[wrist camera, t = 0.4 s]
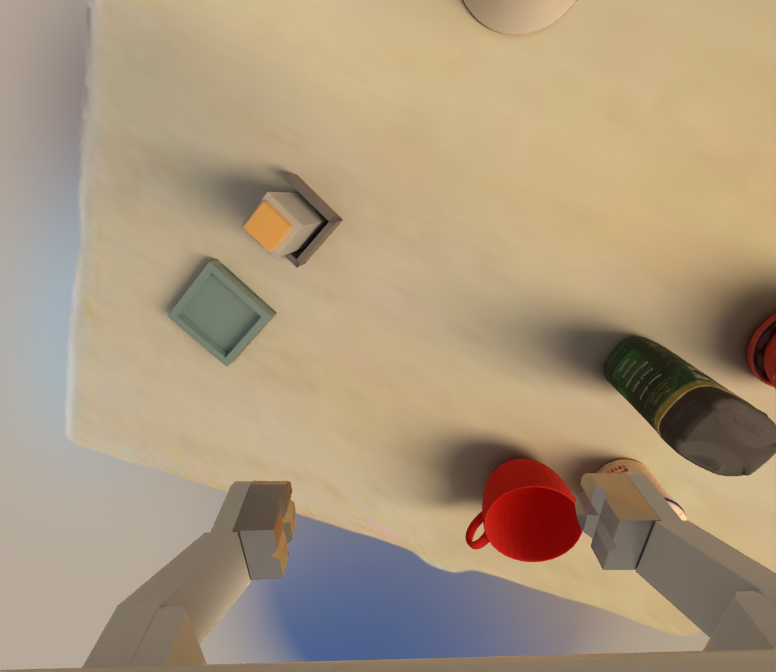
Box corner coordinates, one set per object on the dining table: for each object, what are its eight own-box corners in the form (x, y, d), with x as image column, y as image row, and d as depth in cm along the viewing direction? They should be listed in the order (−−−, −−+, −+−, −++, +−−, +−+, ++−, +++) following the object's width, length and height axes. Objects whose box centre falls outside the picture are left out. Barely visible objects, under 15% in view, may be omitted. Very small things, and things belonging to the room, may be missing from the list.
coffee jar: (591, 373, 56) (662, 453, 39) (628, 326, 53) (723, 390, 36) (649, 405, 57) (744, 497, 39) (689, 360, 54) (811, 438, 37)
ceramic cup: (439, 479, 65) (440, 527, 55) (530, 426, 60) (548, 469, 50) (486, 532, 67) (495, 586, 58) (577, 485, 62) (603, 536, 53)
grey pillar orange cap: (298, 192, 52) (261, 191, 41) (327, 220, 53) (298, 226, 42) (275, 221, 54) (234, 227, 43) (303, 247, 55) (270, 261, 43)
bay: (297, 175, 52) (287, 173, 48) (342, 219, 53) (336, 221, 49) (260, 221, 54) (249, 223, 51) (305, 263, 55) (296, 267, 52)
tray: (217, 259, 56) (209, 261, 54) (276, 312, 58) (271, 317, 56) (176, 312, 60) (167, 315, 58) (233, 361, 61) (226, 366, 60)
